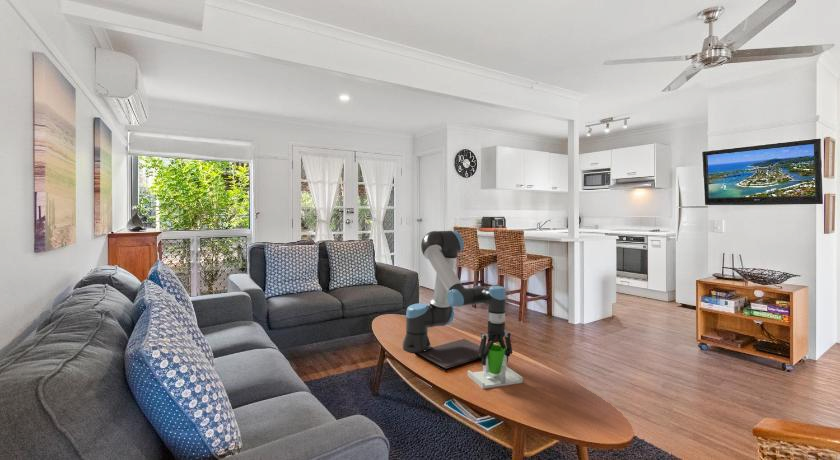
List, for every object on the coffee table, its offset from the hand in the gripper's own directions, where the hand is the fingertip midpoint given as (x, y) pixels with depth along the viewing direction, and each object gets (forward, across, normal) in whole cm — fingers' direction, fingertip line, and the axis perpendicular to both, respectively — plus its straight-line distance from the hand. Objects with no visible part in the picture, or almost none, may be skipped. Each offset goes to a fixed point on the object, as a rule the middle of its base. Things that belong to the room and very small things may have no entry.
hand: (494, 370), depth 181 cm
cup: (+1, 0, 0) cm, 1 cm away
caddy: (+4, 0, 0) cm, 4 cm away
